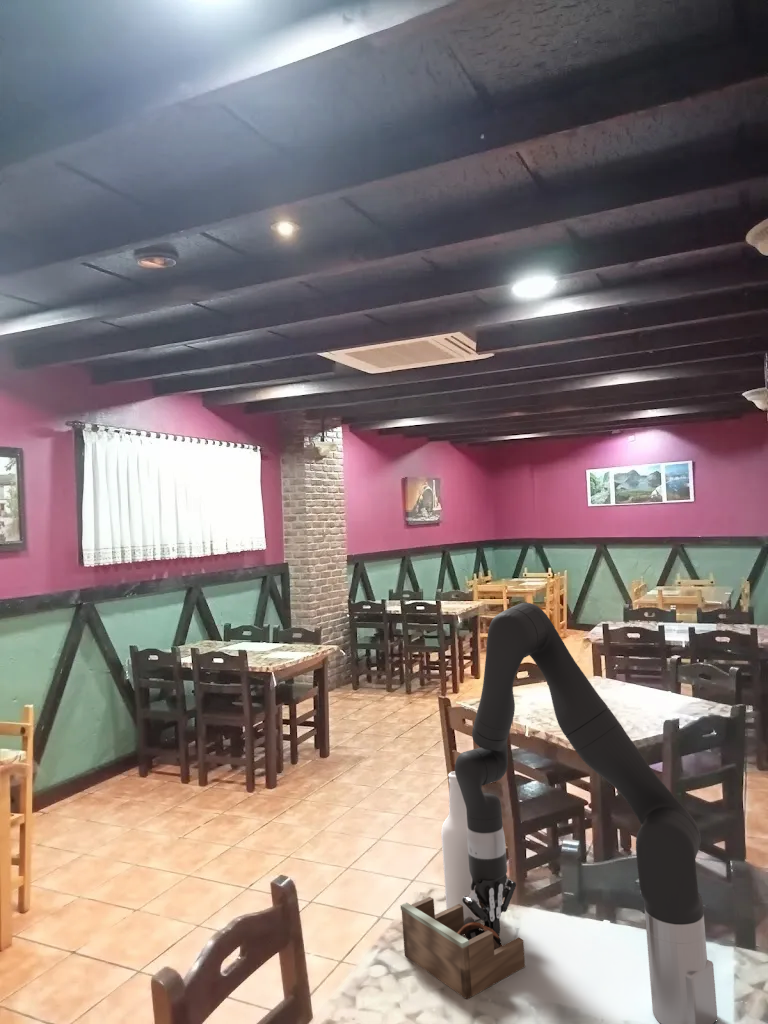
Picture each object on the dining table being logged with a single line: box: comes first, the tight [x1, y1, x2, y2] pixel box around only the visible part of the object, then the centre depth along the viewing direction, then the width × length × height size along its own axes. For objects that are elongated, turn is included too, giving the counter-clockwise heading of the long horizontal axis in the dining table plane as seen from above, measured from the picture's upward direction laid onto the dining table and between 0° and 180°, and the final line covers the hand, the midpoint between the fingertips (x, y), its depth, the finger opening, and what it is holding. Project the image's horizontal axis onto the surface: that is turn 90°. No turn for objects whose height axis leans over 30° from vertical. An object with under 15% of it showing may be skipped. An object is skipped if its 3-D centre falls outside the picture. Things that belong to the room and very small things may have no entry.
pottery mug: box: [457, 917, 503, 950], centre depth 142 cm, size 12×10×8 cm
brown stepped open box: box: [399, 896, 526, 1000], centre depth 142 cm, size 18×15×10 cm
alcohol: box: [440, 770, 481, 922], centre depth 161 cm, size 9×9×30 cm
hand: (493, 936), depth 147 cm, fingers closed
